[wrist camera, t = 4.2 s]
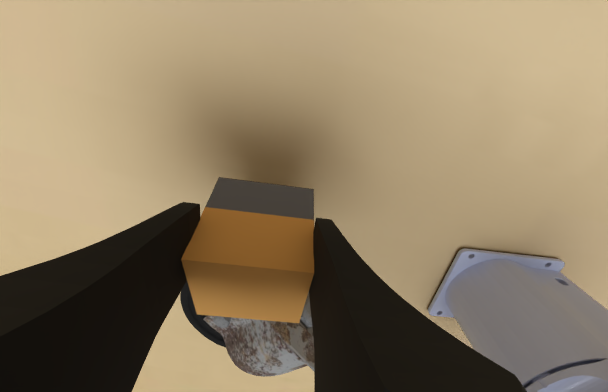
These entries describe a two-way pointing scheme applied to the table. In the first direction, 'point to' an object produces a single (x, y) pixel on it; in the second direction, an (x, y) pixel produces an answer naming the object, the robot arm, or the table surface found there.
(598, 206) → the table surface
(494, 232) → the table surface
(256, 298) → the block
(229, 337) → the caster wheel
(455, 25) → the table surface
